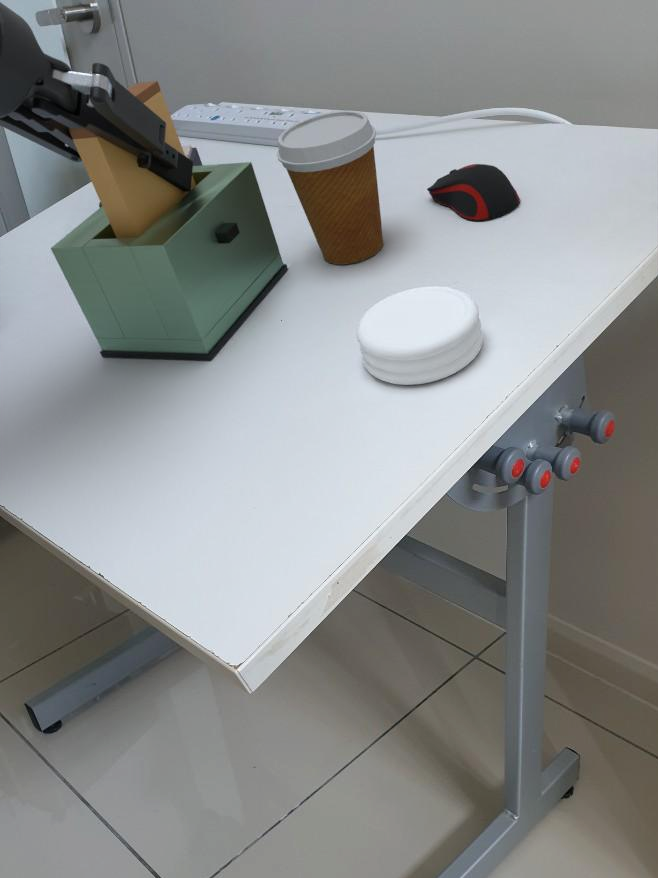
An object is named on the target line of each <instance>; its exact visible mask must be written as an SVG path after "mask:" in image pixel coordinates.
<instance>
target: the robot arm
mask: <svg viewBox="0 0 658 878" xmlns="http://www.w3.org/2000/svg"><path fill="white" fill-rule="evenodd" d="M0 127H3V128H4V129H7V130H9V131H10V132H12V133H14V134H17V135H19V136H21V137H23V138H24V139H27V140H28V141H31V142H33V143H35V144H37V145H39V146H41V147H43V148H45V149H47V150H50V151H51V152H53V153H55V154H57V155H59V156H61V157H63V158H65V159H68V160H70V161H72V162H74V163H80V162H82V159H81V157H80V155H79V153H78V150H77V148H76V146H75V144H74V141H73V138H72V136H71V134H70V132H69V130H68V129H69V128H71V129H79V128H84V129H86V130H88V131H90V132H92V133H93V134H95V135H97V136H99V137H101V138H103V139H105V140H107V141H108V142H110V143H112V144H114V145H116V146H118V147H120V148H122V149H123V150H125V151H127V152H129V153H131V154H133V155H135V156H137V163H138V167H140V168H144V169H148V170H149V171H151V172H153V173H154V174H156V175H157V176H159V177H161V178H162V179H164V180H166V181H167V182H169V183H170V184H172V185H174V186H175V187H177V188H179V189H180V190H182V191H184V192H190V191H191V181H192V170H193V161H192V160H190V159H189V158H187V157H186V156H184V155H183V154H181V153H180V152H178V151H177V150H176V149H175V148H173V147H172V146H170V145H169V144H167V143H166V142H165V134H166V122H165V121H163V120H162V119H161V118H160V117H159V116H158V115H156V114H155V113H154V112H153V111H152V110H150V109H149V108H148V107H147V106H146V105H145V104H143V103H142V102H141V101H140V100H139V99H138V98H136V97H135V96H134V95H133V94H132V93H131V92H129V91H128V90H127V88H126V87H125V86H124V85H122V84H121V83H120V82H119V81H118V80H117V79H116V78H115V76H114V74H113V72H112V70H111V69H110V67H109V66H108V65H107V64H104V63H101V62H100V63H99V62H94V63H92V64H91V70H90V71H89V72H88V73H87V72H81V71H73V69H72V68H71V66H69V65H68V64H67V63H66V62H64V61H62V60H60V59H58V58H55V57H53V56H51V55H49V54H47V53H45V52H44V51H43V49H42V48H41V46H40V44H39V42H38V40H37V37H36V35H35V33H34V31H33V29H32V27H31V26H30V25H29V24H28V22H27V21H26V20H25V19H24V18H23V17H22V16H20V15H19V14H18V13H17V12H15V11H14V10H12V9H11V8H9V7H8V6H6V4H4V3H2V2H1V1H0Z"/></svg>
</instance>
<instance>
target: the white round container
mask: <svg viewBox="0 0 658 878" xmlns="http://www.w3.org/2000/svg"><path fill="white" fill-rule="evenodd" d="M479 316H480V310H479V306H478V304H477V303H476V301H475V300H474V298H473V297H472V296H470V295H469V294H468V293H466V292H464V291H462V290H459V289H456V288H454V287H449V286H440V285H430V286H429V285H428V286H427V285H426V286H420V287H419V286H418V287H414V288H409V289H405V290H402V291H399V292H396V293H393V294H391V295H389V296H387V297H384V298H383V299H381V300H379V301H377V302H376V303H374V304H373V305H372V306H371V307H369V309H368V310H366V312H365V313H363V315H362V316H361V318H360V319H359V321H358V323H357V326H356V333H355V334H356V339H357V342H358V344H359V351H360V354H361V355H362V363H363V365H364V367H365V368H366V370H367V371H368V372H369V373H370V375H371V376H373V377H375V378H376V379H378V380H380V381H383V382H386V383H389V384H394V385H401V386H416V385H423V384H430V383H433V382H436V381H440V380H442V379H445V378H447V377H450V376H452V375H454V374H456V373H458V372H460V371H461V370H462V369H464V368H465V367H466V366H467V365H469V364H470V363H471V362H472V361H473V360H474V359H475V358H476V357H477V355H478V354H479V352H480V350H481V348H482V344H483V340H484V337H483V336H484V335H483V331H482V329H481V328H482V323H481V319H480V317H479Z"/></svg>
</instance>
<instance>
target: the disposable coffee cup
mask: <svg viewBox="0 0 658 878" xmlns="http://www.w3.org/2000/svg"><path fill="white" fill-rule="evenodd" d="M376 136H377V130H376V128H375V127H374V126H373V125H372V124H371V122H370V120H369V117H368V115H366V114H365V113H364V112H362V111H357V110H336V111H330V112H325V113H321V114H316V115H313V116H310V117H308V118H305V119H302V120H300V121H298V122H295V123H294V124H292V125H290V126H289V127H287V128H286V129H284V131H282V132H281V133H280V134H279V136H278V138H277V144H278V151H277V153H276V156H277V160H278V161H279V162H280V163H281V164H282V167H283V168H285V170H286V171H287V174H288V176H289V178H290V181H291V183H292V186H293V188H294V190H295V193H296V195H297V198H298V200H299V203H300V204H301V207H302V209H303V211H304V214H305V217H306V219H307V221H308V223H309V226H310V228H311V231H312V233H313V235H314V238H315V240H316V243H317V244H318V247H319V250H320V252H321V254H322V256H323V260H324V261H325V262H326V263H328V264H331V265H332V264H333V265H339V266H340V265H341V266H342V265H349V264H350V265H352V264H356V263H358V262H362V261H365V260H367V259H370V258H371V257H374V256H375V255H376V254H377V253H379V252H380V251H381V249H382V248H383V247H384V237H383V235H384V234H383V228H382V227H383V226H382V225H383V224H382V217H381V207H380V206H381V205H380V196H379V195H380V194H379V188H378V187H379V185H378V177H377V176H378V175H377V166H376V165H377V164H376V157H375V156H376V155H375V144H376V141H375V139H376Z"/></svg>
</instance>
